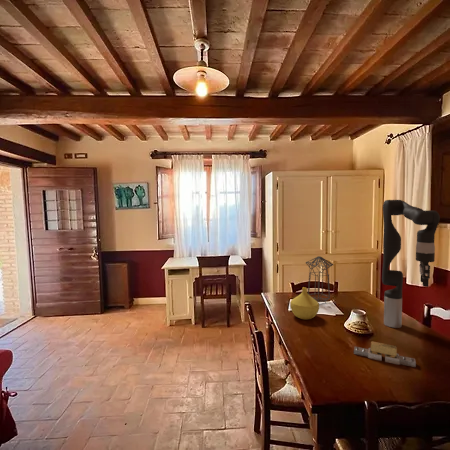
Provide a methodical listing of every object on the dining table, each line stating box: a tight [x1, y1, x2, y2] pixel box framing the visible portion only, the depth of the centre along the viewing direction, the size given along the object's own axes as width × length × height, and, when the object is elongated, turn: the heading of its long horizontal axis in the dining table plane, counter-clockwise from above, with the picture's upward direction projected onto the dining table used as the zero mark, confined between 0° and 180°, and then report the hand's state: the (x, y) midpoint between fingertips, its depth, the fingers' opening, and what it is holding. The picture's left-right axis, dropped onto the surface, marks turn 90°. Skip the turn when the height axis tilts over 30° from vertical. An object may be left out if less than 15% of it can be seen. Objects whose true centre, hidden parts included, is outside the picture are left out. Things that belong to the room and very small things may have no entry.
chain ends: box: [353, 346, 417, 368], centre depth 133 cm, size 6×25×3 cm, turn 61°
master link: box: [370, 340, 398, 358], centre depth 133 cm, size 3×10×6 cm, turn 61°
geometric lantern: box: [305, 255, 334, 306], centre depth 212 cm, size 16×16×35 cm
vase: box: [289, 286, 320, 320], centre depth 185 cm, size 18×18×19 cm
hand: (424, 284), depth 139 cm, fingers open, 8 cm apart
